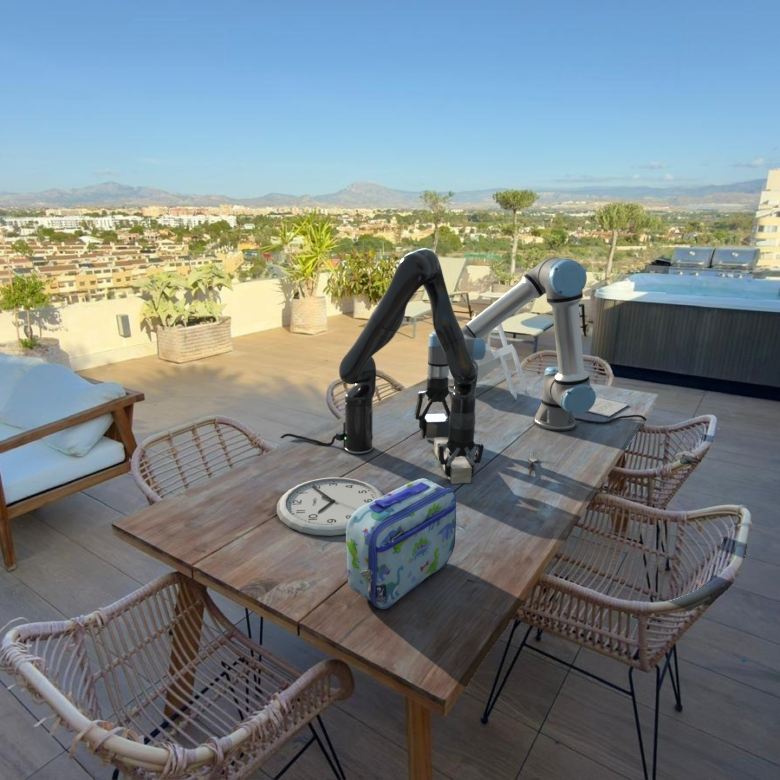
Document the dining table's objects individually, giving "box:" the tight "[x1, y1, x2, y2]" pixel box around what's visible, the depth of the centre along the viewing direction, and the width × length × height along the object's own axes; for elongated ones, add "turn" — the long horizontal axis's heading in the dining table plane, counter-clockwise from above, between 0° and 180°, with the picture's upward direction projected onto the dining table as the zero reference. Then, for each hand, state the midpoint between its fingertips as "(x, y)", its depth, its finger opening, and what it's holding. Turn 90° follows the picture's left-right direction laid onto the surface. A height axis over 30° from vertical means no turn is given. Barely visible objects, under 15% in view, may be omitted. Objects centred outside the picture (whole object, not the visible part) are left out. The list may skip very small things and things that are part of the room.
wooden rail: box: [433, 437, 473, 485], centre depth 167 cm, size 24×6×5 cm, turn 8°
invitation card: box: [587, 396, 629, 418], centre depth 226 cm, size 21×1×15 cm
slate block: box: [424, 413, 449, 439], centre depth 188 cm, size 8×8×6 cm
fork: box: [529, 450, 539, 475], centre depth 168 cm, size 3×16×2 cm, turn 160°
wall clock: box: [276, 476, 385, 537], centre depth 142 cm, size 30×2×30 cm
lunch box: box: [345, 477, 457, 610], centre depth 110 cm, size 26×11×21 cm, turn 134°
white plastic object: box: [447, 323, 531, 400], centre depth 245 cm, size 37×45×31 cm
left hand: (458, 475), depth 159 cm, fingers closed on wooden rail, 6 cm apart
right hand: (434, 436), depth 189 cm, fingers closed on slate block, 8 cm apart
